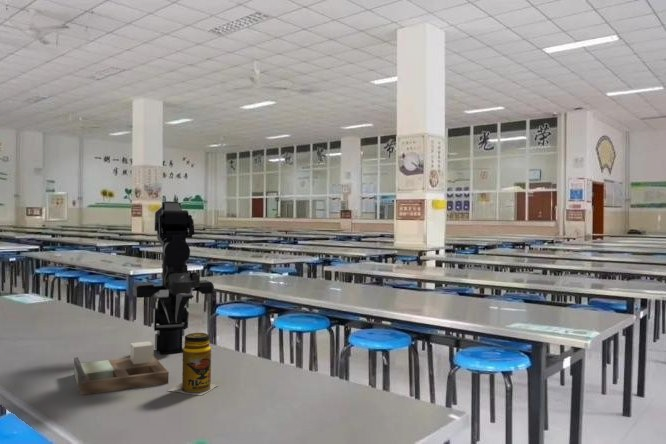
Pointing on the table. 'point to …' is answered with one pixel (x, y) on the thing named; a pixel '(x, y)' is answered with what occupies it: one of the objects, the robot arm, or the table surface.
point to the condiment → (196, 365)
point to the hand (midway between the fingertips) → (173, 323)
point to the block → (141, 352)
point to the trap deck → (117, 375)
